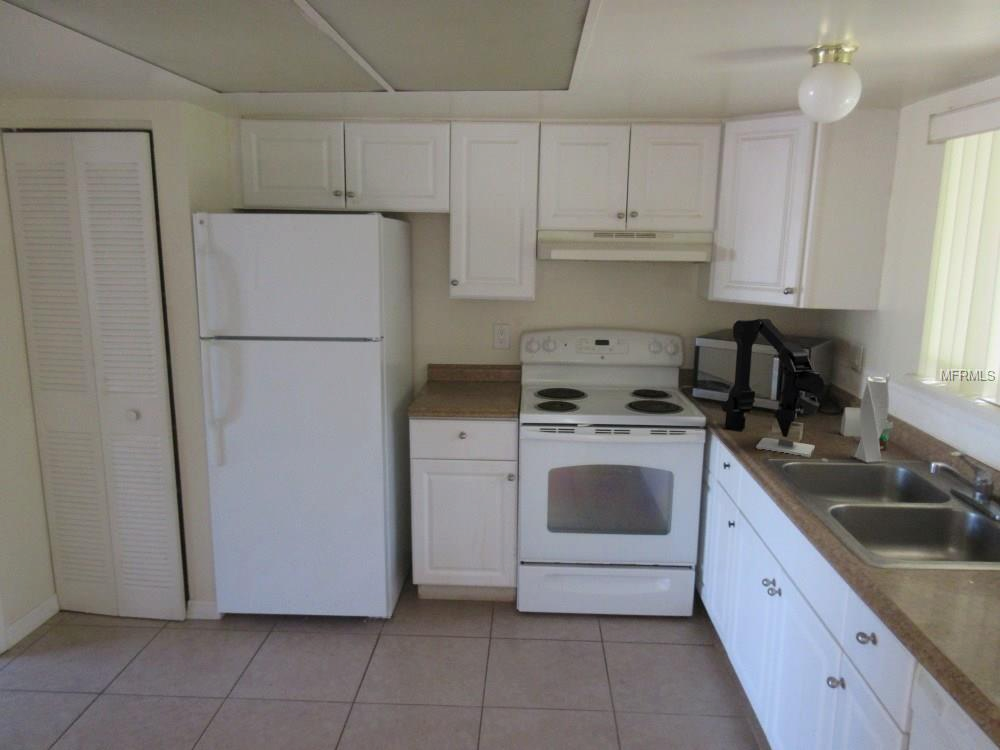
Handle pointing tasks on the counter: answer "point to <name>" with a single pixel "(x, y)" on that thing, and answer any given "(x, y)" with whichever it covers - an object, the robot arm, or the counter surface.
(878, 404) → the skyscraper
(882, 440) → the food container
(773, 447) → the post stand
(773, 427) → the beige open box
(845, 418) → the tea bag
